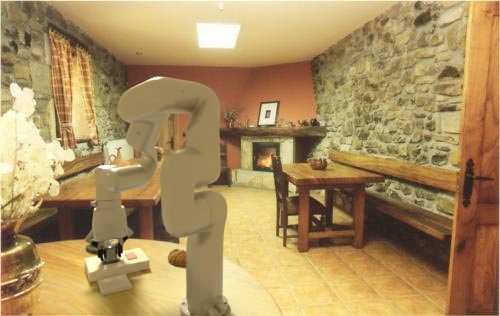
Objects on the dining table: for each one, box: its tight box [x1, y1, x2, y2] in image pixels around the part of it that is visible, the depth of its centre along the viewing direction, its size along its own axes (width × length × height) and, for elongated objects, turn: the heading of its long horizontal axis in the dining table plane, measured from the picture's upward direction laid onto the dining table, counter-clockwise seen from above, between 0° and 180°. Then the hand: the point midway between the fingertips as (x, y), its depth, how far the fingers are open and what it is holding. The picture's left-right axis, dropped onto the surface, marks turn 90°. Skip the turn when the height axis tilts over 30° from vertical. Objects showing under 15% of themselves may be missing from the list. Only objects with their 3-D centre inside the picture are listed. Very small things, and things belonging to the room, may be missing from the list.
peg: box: [103, 244, 117, 265], centre depth 104 cm, size 4×4×8 cm
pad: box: [97, 274, 133, 297], centre depth 94 cm, size 8×8×1 cm
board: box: [84, 247, 150, 283], centre depth 106 cm, size 12×18×3 cm, turn 123°
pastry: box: [167, 248, 186, 268], centre depth 111 cm, size 9×7×4 cm
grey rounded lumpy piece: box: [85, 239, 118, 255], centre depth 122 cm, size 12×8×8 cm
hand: (110, 257), depth 104 cm, fingers open, 4 cm apart
